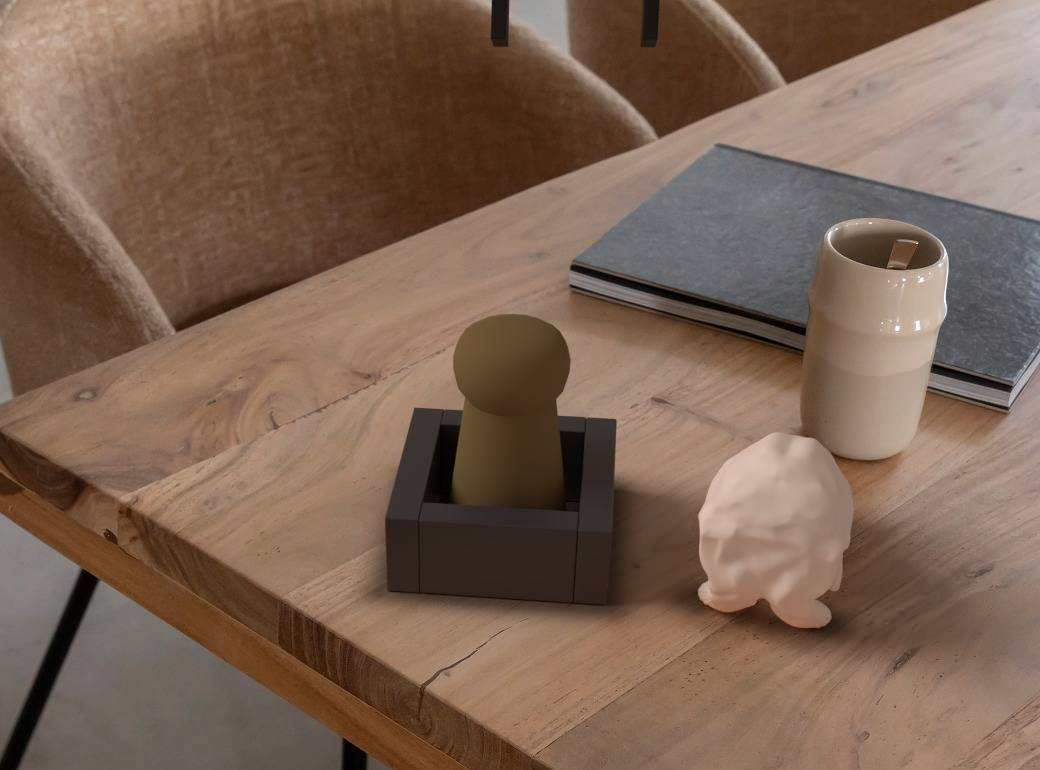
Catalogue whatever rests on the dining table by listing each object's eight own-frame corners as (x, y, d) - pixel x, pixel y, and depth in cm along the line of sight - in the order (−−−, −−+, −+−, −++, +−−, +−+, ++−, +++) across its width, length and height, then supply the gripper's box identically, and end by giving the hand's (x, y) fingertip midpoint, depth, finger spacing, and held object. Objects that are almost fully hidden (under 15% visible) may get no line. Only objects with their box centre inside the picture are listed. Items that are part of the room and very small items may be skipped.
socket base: (611, 487, 74) (616, 418, 72) (606, 605, 66) (612, 532, 64) (415, 475, 75) (414, 406, 72) (386, 591, 67) (384, 517, 65)
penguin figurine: (700, 459, 59) (752, 356, 69) (676, 636, 64) (728, 515, 73) (859, 488, 57) (890, 378, 67) (823, 668, 62) (856, 540, 72)
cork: (425, 556, 69) (422, 345, 63) (469, 492, 74) (471, 289, 67) (547, 583, 67) (557, 369, 61) (585, 515, 72) (598, 309, 65)
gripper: (374, -504, 67) (371, 30, 72) (816, -517, 65) (780, 32, 70) (394, -428, 74) (390, 53, 79) (792, -437, 72) (762, 54, 77)
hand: (573, 42), depth 75 cm, fingers open, 7 cm apart
